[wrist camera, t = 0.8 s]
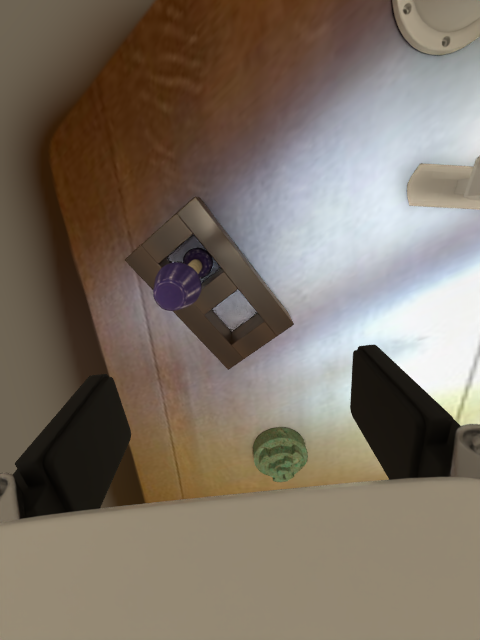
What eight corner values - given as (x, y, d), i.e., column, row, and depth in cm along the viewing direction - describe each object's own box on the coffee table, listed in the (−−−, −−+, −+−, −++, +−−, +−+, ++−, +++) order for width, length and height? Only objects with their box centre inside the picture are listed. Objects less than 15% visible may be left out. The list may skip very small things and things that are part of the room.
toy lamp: (181, 278, 41) (149, 322, 25) (177, 246, 39) (139, 272, 23) (214, 276, 41) (201, 319, 25) (210, 243, 39) (195, 268, 23)
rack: (199, 197, 37) (195, 196, 32) (288, 313, 43) (294, 324, 39) (135, 254, 39) (124, 259, 35) (228, 355, 46) (228, 369, 42)
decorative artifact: (251, 464, 56) (300, 466, 56) (253, 498, 49) (308, 500, 49) (255, 426, 52) (308, 428, 52) (258, 457, 45) (318, 459, 46)
